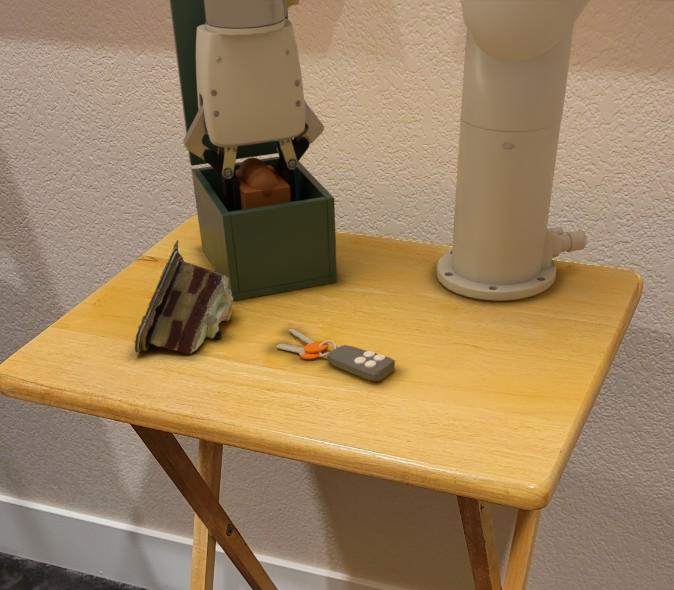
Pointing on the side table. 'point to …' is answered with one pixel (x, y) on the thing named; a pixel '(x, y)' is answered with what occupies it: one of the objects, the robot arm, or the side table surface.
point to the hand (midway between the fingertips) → (260, 207)
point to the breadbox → (268, 236)
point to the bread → (261, 185)
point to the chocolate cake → (185, 307)
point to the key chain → (345, 357)
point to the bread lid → (185, 22)
